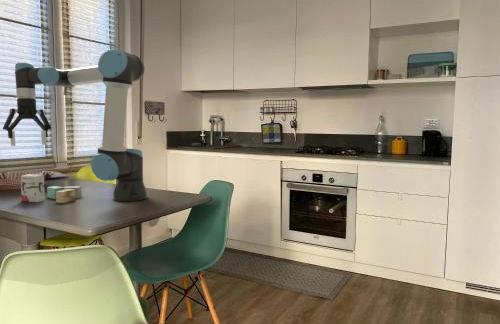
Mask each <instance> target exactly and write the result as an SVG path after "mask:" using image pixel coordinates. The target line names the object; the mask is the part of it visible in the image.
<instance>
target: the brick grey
mask: <svg viewBox="0 0 500 324" xmlns="http://www.w3.org/2000/svg"><path fill="white" fill-rule="evenodd" d="M65 189H75V199H79V198H81V197H82V186H80V185H78V186H76V185H75V186H74V185H73V186H64V187H63V190H65Z"/></svg>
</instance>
